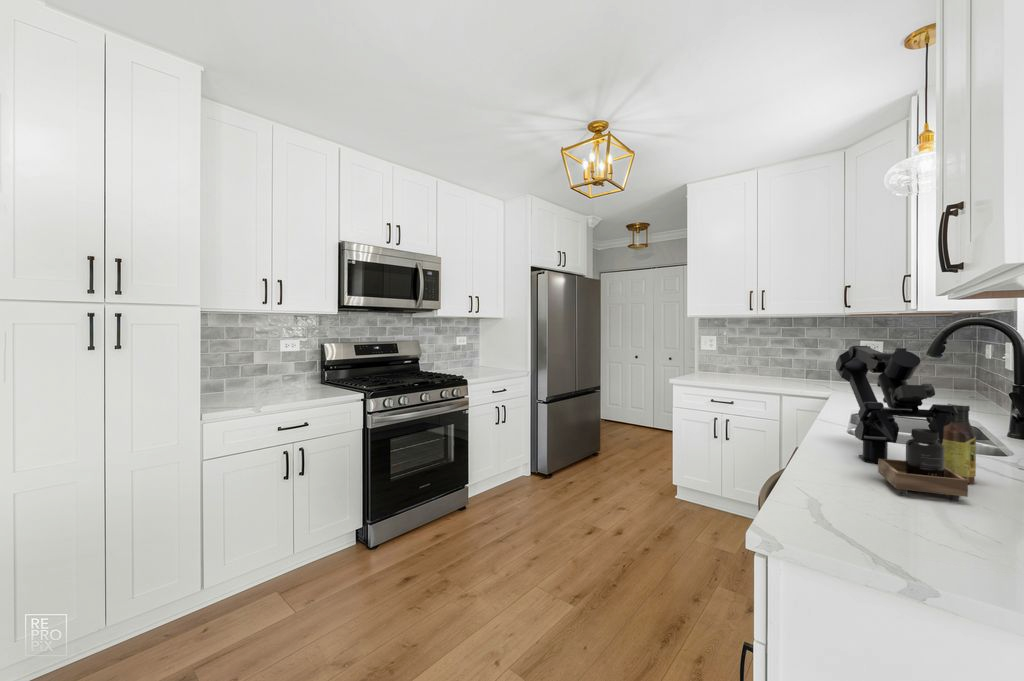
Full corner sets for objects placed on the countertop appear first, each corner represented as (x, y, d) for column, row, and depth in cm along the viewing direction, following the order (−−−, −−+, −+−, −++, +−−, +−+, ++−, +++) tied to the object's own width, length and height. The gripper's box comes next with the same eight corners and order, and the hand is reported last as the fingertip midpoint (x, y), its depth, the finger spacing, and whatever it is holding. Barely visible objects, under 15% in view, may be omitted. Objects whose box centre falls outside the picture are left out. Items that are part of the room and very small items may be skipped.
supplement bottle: (899, 473, 110) (900, 426, 110) (933, 475, 108) (933, 427, 108) (915, 482, 104) (915, 432, 103) (951, 485, 102) (951, 434, 101)
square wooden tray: (878, 478, 115) (878, 458, 115) (941, 485, 109) (941, 464, 109) (896, 496, 103) (896, 473, 103) (967, 504, 98) (967, 480, 98)
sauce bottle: (978, 486, 109) (979, 407, 108) (943, 481, 112) (944, 405, 112) (972, 478, 114) (973, 403, 113) (938, 474, 118) (940, 401, 117)
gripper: (863, 371, 115) (881, 422, 105) (954, 373, 108) (982, 427, 98) (851, 396, 122) (867, 445, 113) (935, 398, 116) (960, 451, 106)
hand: (917, 442), depth 107 cm, fingers open, 9 cm apart
